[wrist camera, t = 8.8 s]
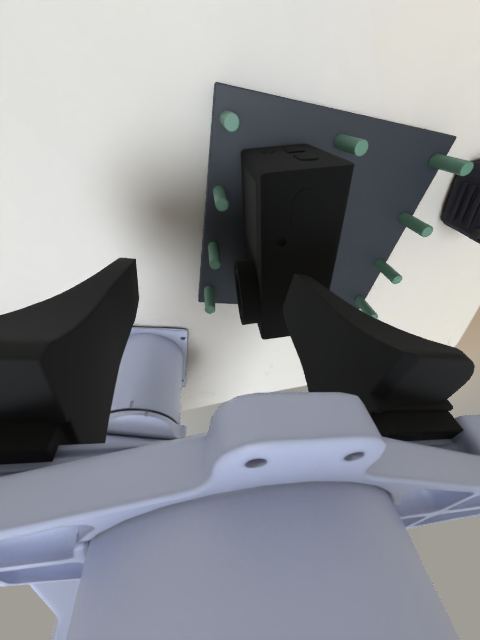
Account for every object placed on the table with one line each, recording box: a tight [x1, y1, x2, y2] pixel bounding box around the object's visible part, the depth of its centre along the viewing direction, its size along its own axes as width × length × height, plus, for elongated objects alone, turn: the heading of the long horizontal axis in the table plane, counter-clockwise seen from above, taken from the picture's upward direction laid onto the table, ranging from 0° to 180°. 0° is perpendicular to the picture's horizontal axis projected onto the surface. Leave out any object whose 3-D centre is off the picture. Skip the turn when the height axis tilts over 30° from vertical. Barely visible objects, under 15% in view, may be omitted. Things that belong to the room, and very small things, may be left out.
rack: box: [198, 82, 474, 319], centre depth 20 cm, size 15×16×4 cm
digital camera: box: [234, 144, 355, 339], centre depth 17 cm, size 10×5×7 cm, turn 3°
